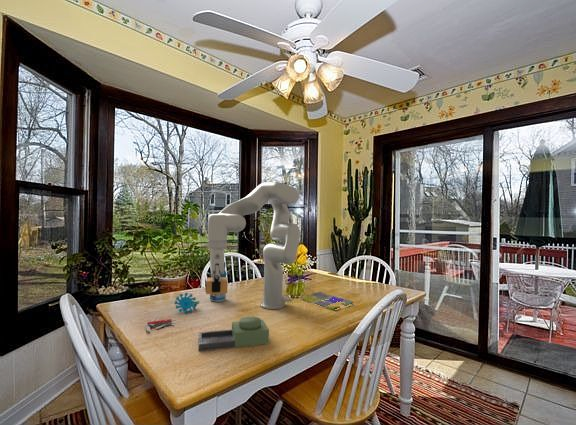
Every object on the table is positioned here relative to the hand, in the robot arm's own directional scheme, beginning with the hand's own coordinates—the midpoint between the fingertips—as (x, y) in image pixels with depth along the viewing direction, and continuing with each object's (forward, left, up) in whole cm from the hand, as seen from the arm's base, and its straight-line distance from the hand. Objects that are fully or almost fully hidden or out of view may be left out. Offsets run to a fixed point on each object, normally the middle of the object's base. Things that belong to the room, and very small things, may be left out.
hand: (215, 289), depth 116 cm
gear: (+11, -23, -16) cm, 30 cm away
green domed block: (-12, +13, -16) cm, 24 cm away
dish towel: (-60, -23, -16) cm, 66 cm away
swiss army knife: (+20, -8, -16) cm, 27 cm away
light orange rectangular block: (0, 0, -1) cm, 1 cm away
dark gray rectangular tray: (0, +13, -16) cm, 20 cm away
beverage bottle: (-4, -38, -16) cm, 41 cm away
